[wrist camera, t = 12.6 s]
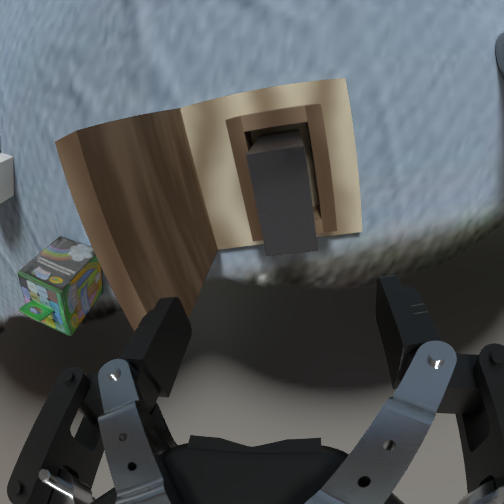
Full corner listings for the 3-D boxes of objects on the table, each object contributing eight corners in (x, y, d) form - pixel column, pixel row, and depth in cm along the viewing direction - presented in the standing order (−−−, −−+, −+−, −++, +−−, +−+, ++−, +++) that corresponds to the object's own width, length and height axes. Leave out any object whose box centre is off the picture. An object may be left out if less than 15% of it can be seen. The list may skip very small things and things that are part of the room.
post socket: (343, 78, 26) (412, 58, 10) (360, 228, 35) (407, 342, 18) (167, 112, 30) (54, 141, 14) (205, 247, 39) (151, 358, 22)
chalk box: (64, 277, 46) (17, 330, 33) (59, 234, 41) (1, 284, 28) (104, 294, 46) (60, 355, 33) (102, 249, 41) (46, 310, 28)
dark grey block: (298, 128, 29) (304, 146, 19) (309, 198, 33) (317, 250, 22) (261, 134, 30) (245, 154, 19) (274, 202, 33) (266, 255, 23)
